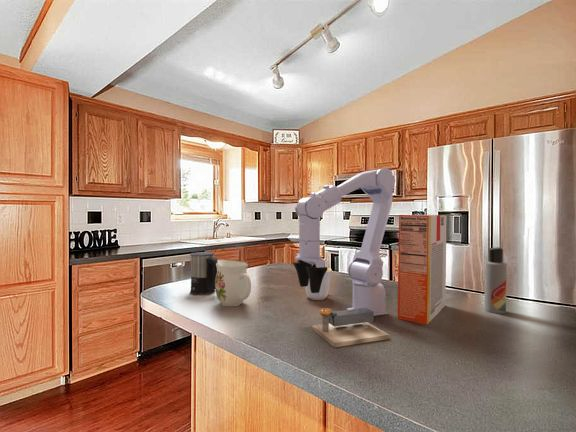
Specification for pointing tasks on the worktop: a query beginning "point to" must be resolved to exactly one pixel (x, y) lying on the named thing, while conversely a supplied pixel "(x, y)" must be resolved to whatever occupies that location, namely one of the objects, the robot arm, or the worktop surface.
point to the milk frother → (203, 272)
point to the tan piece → (348, 333)
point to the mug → (323, 288)
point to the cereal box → (421, 267)
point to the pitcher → (232, 282)
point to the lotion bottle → (495, 282)
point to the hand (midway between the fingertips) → (309, 289)
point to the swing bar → (348, 316)
